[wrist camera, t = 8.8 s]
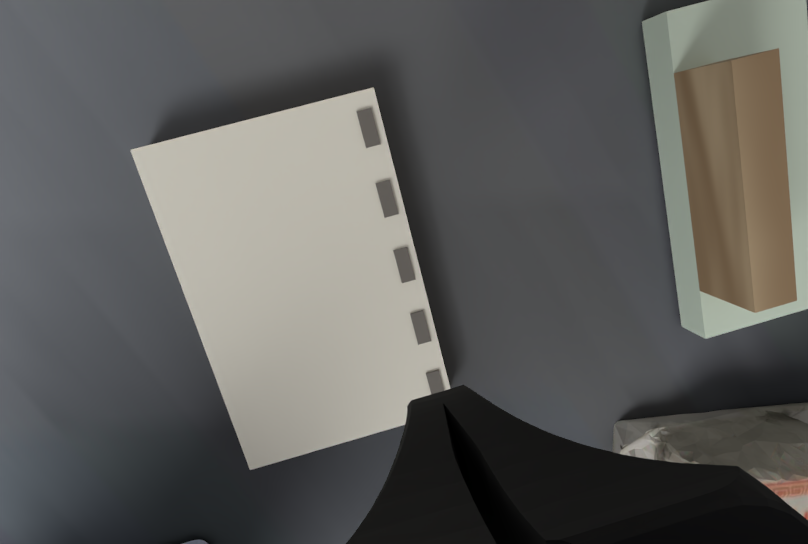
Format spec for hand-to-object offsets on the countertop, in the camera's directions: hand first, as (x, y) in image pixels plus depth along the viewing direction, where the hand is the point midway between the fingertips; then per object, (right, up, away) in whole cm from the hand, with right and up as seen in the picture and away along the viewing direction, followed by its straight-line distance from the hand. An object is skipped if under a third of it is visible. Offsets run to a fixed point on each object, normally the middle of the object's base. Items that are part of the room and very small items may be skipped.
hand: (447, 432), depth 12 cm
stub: (+12, +8, +9) cm, 17 cm away
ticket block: (-5, +3, +8) cm, 10 cm away
